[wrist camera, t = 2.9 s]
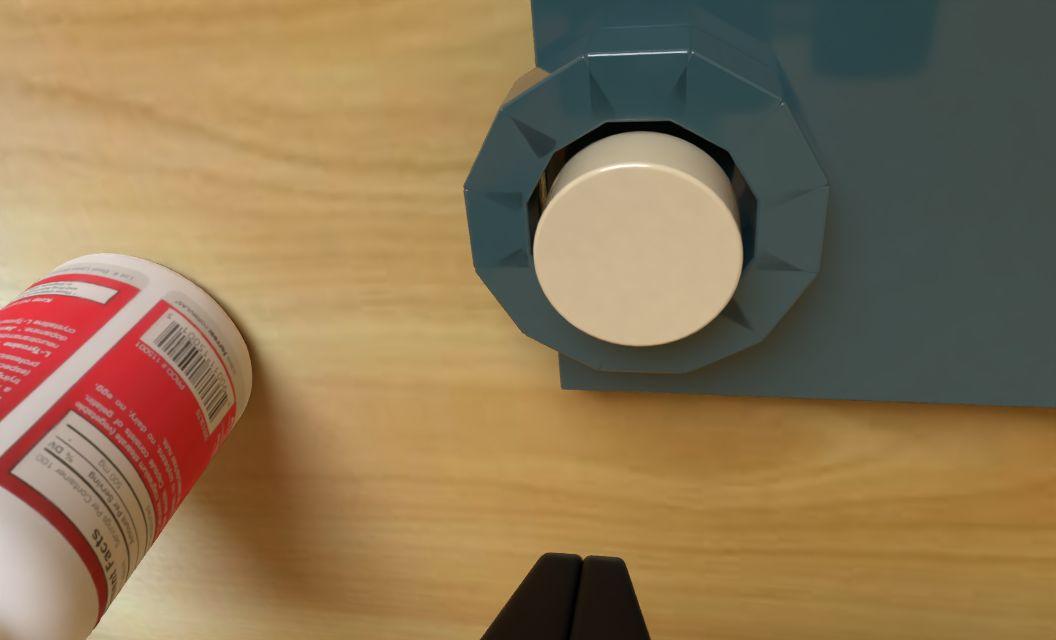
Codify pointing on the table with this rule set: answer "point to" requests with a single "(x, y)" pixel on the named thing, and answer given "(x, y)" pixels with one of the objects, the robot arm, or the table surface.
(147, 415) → the pill bottle
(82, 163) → the table surface
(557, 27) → the teal rectangular base
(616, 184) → the beige round cap
